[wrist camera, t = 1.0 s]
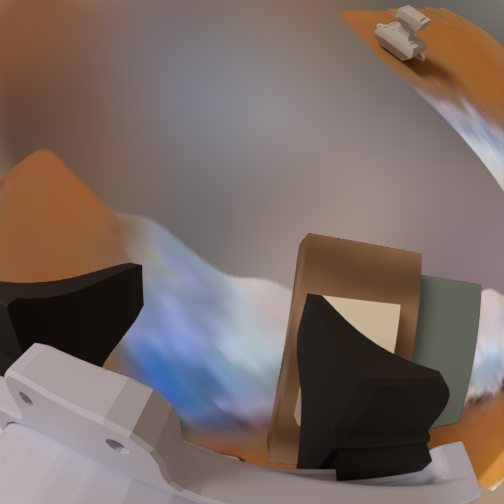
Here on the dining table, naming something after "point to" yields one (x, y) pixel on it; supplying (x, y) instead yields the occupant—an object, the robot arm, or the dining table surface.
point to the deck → (343, 286)
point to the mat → (448, 337)
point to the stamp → (404, 34)
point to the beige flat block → (365, 325)
